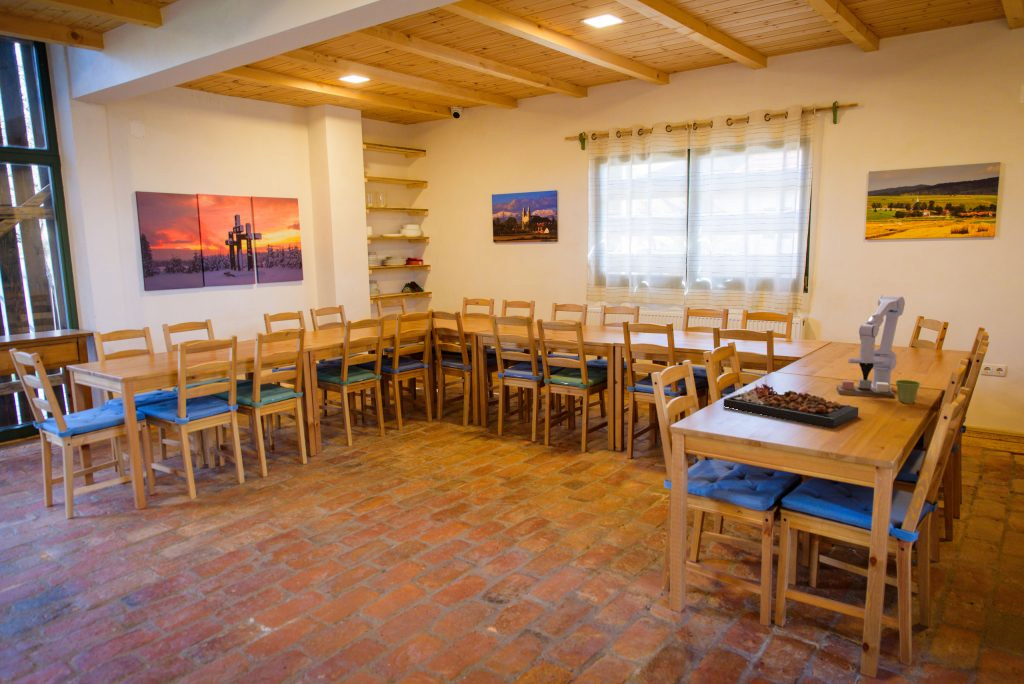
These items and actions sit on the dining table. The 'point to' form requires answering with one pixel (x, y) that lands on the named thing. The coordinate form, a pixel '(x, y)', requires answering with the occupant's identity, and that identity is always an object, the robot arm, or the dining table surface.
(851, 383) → the brick key
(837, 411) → the food platter
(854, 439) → the dining table surface
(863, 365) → the robot arm
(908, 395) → the plant pot
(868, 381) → the slate key
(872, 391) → the brown flat board
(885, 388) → the ivory key
